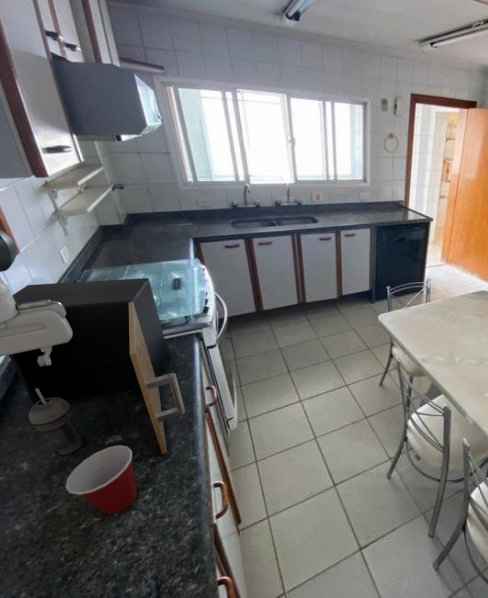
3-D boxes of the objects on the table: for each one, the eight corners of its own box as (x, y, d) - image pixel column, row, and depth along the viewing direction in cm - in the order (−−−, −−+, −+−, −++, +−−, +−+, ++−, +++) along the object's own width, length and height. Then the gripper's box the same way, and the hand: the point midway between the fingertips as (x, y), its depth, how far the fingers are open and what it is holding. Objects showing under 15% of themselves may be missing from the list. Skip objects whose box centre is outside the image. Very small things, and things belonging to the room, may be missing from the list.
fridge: (157, 388, 106) (131, 300, 93) (35, 408, 95) (-14, 311, 82) (169, 357, 121) (148, 277, 108) (65, 371, 110) (27, 284, 97)
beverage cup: (82, 431, 89) (50, 372, 80) (94, 443, 86) (61, 383, 77) (46, 450, 83) (6, 390, 74) (57, 464, 80) (17, 402, 71)
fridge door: (180, 383, 109) (158, 297, 96) (193, 444, 88) (167, 345, 75) (155, 390, 105) (128, 302, 92) (163, 456, 84) (129, 354, 71)
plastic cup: (97, 489, 75) (76, 454, 70) (154, 473, 79) (137, 438, 74) (79, 537, 66) (53, 501, 61) (143, 516, 70) (124, 480, 65)
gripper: (61, 292, 67) (83, 349, 73) (-109, 316, 55) (-66, 383, 60) (59, 303, 63) (83, 363, 68) (-127, 333, 50) (-79, 402, 56)
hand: (12, 372), depth 64 cm, fingers open, 8 cm apart
